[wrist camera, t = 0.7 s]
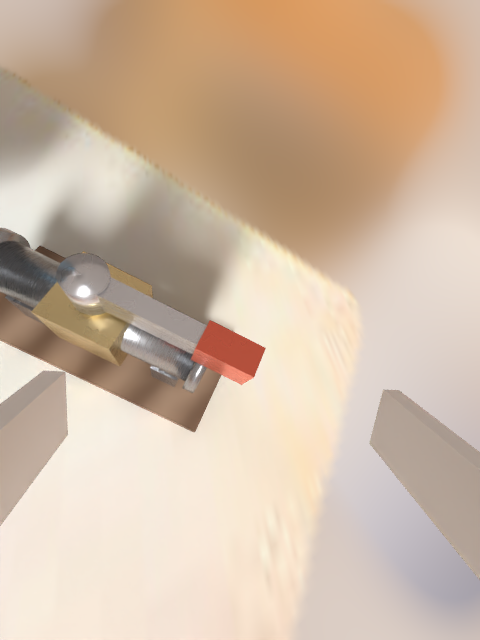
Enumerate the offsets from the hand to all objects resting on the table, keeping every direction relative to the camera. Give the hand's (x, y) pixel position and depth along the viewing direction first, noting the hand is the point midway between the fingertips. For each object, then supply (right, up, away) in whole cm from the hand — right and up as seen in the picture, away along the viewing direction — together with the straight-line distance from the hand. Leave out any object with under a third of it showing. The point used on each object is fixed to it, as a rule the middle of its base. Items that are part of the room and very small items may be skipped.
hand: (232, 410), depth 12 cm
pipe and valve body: (-15, +2, +23) cm, 28 cm away
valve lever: (-7, +3, +14) cm, 15 cm away
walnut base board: (-16, +1, +25) cm, 29 cm away
